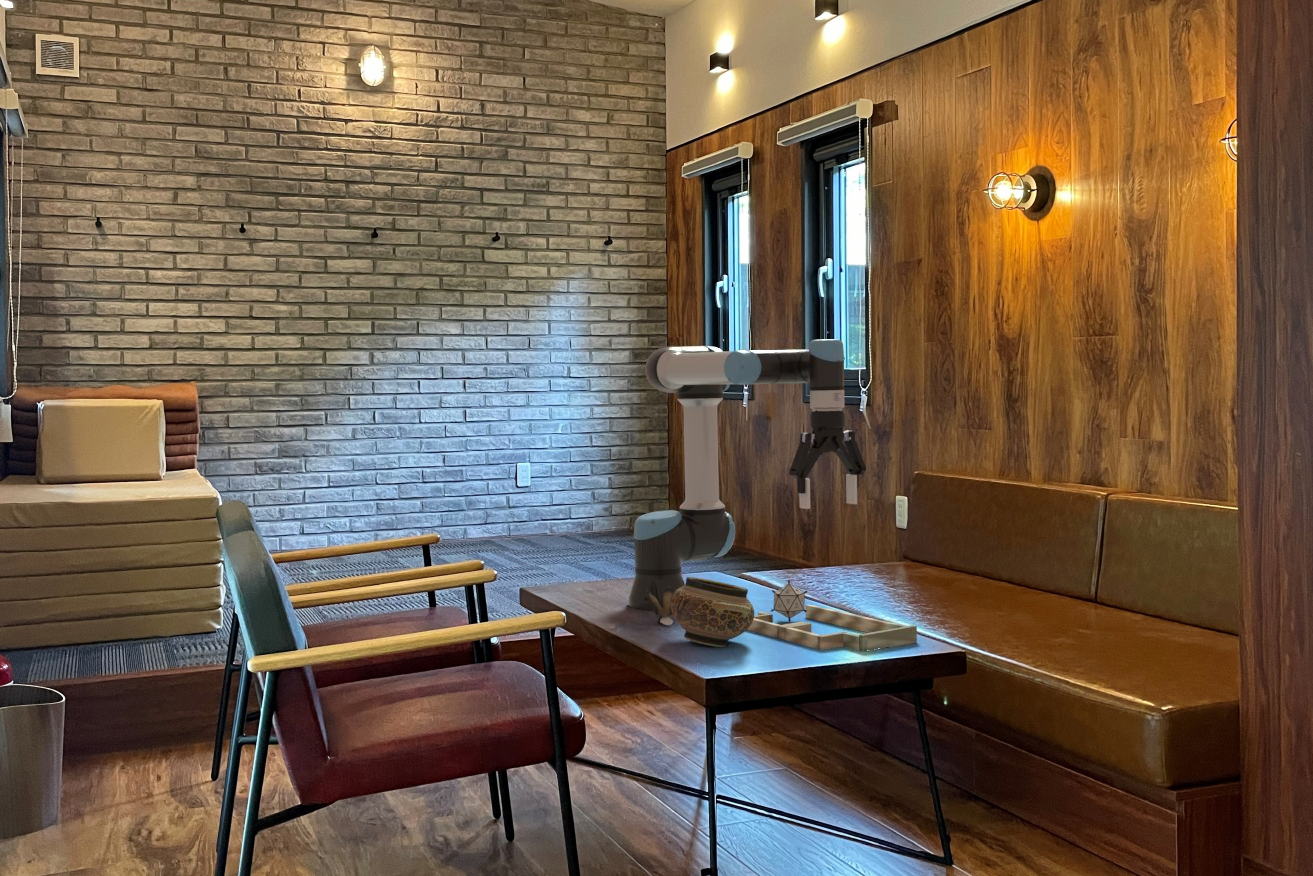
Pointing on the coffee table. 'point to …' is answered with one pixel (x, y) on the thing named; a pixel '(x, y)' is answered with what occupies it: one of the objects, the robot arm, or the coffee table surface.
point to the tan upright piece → (666, 606)
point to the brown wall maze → (877, 636)
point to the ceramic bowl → (711, 611)
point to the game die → (789, 601)
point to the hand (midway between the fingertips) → (828, 506)
